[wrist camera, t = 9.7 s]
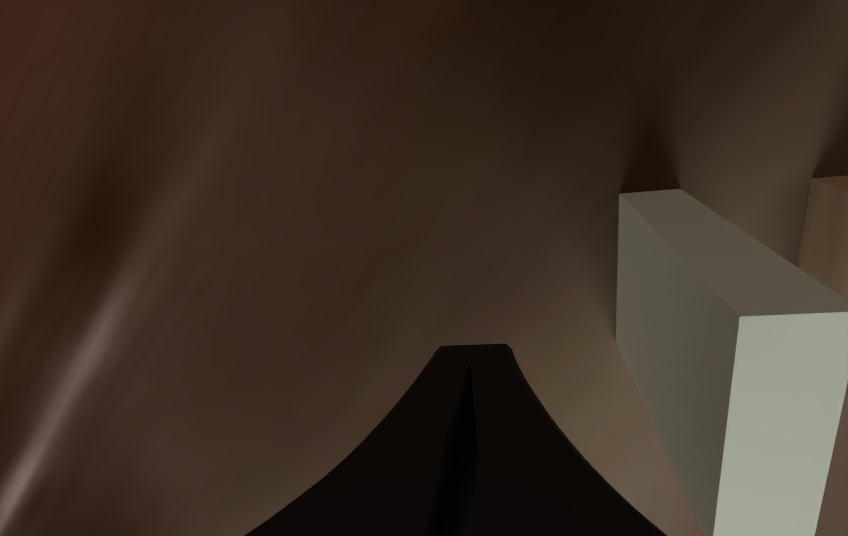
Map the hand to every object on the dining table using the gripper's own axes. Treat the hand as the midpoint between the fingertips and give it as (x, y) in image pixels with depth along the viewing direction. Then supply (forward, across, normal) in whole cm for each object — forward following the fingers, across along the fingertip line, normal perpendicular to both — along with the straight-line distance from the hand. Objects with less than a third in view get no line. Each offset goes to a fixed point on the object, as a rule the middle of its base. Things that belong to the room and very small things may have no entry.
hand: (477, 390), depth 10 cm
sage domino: (+5, -4, 0) cm, 7 cm away
